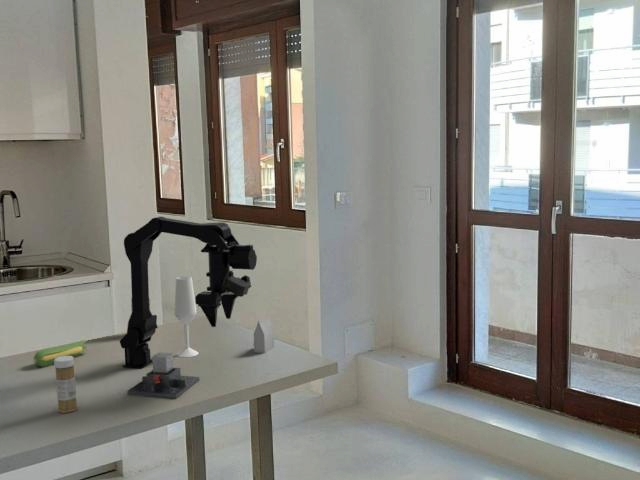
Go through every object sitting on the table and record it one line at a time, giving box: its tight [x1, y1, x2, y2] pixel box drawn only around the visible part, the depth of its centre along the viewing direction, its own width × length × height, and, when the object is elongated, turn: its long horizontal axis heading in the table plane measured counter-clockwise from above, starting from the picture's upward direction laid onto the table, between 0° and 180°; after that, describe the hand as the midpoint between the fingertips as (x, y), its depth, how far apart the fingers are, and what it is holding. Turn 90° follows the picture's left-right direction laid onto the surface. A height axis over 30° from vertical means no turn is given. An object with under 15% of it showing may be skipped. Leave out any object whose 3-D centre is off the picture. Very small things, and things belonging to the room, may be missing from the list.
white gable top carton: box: [253, 316, 275, 354], centre depth 223 cm, size 4×7×10 cm, turn 158°
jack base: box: [126, 367, 200, 399], centre depth 191 cm, size 14×14×4 cm
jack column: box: [151, 351, 175, 375], centre depth 190 cm, size 4×4×8 cm
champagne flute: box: [174, 275, 199, 358], centre depth 219 cm, size 7×7×24 cm
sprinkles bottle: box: [53, 356, 78, 414], centre depth 175 cm, size 5×5×14 cm
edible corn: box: [33, 339, 87, 368], centre depth 217 cm, size 5×20×5 cm
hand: (221, 322), depth 201 cm, fingers open, 9 cm apart
